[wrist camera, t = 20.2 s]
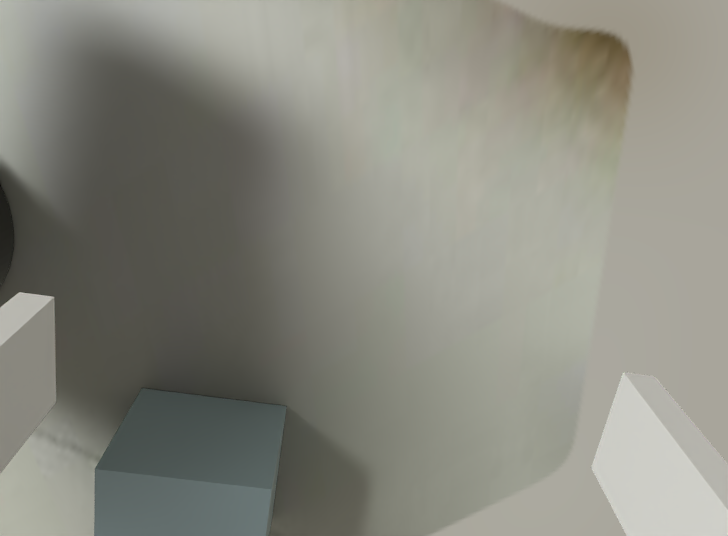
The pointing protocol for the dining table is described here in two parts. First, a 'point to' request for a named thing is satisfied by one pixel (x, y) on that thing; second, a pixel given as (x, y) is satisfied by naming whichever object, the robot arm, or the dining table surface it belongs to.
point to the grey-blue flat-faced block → (190, 468)
